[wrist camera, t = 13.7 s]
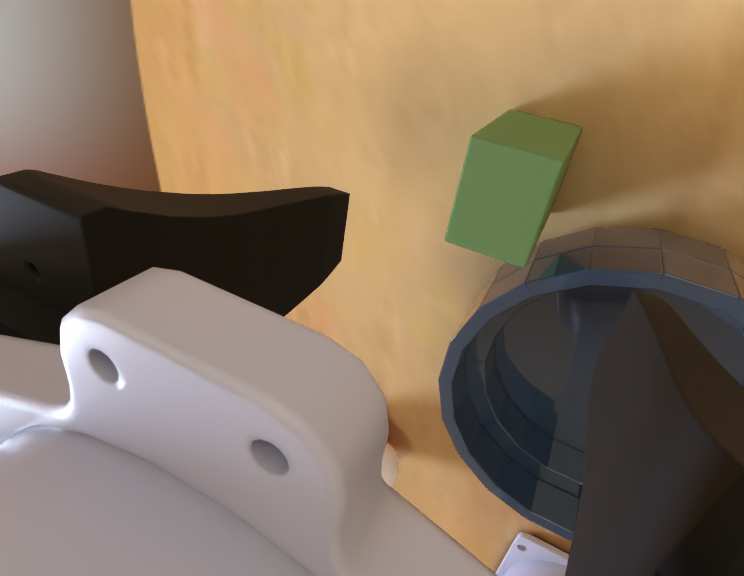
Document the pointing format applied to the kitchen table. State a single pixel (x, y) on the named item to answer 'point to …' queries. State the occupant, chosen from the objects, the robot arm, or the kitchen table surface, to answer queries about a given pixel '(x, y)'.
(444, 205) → the kitchen table surface
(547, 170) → the green block
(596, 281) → the bowl
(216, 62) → the kitchen table surface
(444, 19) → the kitchen table surface
